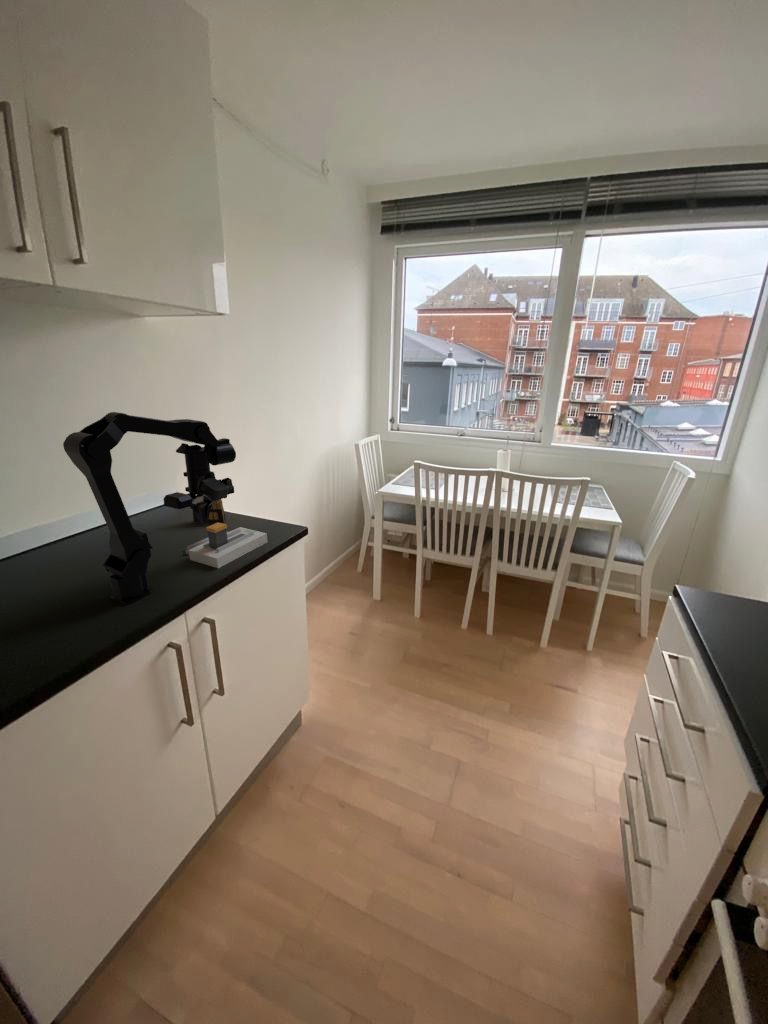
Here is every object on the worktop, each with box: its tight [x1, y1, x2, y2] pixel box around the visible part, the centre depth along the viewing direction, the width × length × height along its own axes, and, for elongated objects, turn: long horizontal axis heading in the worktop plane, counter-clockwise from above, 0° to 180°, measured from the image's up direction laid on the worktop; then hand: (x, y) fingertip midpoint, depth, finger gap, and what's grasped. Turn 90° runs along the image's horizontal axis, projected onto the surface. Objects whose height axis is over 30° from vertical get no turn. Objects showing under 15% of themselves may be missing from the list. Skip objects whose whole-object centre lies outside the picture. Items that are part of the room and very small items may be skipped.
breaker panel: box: [188, 526, 268, 569], centre depth 125 cm, size 20×11×4 cm, turn 154°
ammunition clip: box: [192, 499, 226, 524], centre depth 145 cm, size 11×2×12 cm, turn 88°
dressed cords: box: [184, 531, 230, 555], centre depth 130 cm, size 17×3×1 cm, turn 154°
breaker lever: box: [205, 523, 228, 549], centre depth 120 cm, size 4×3×6 cm
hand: (204, 523), depth 115 cm, fingers closed
